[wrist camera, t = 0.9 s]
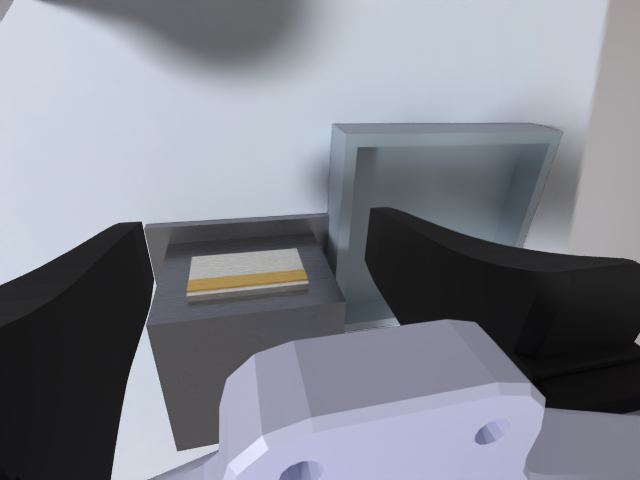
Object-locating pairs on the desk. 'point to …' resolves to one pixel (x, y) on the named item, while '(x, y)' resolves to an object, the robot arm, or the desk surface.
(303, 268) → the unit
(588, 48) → the desk surface
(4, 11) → the lightbulb
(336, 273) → the tray
